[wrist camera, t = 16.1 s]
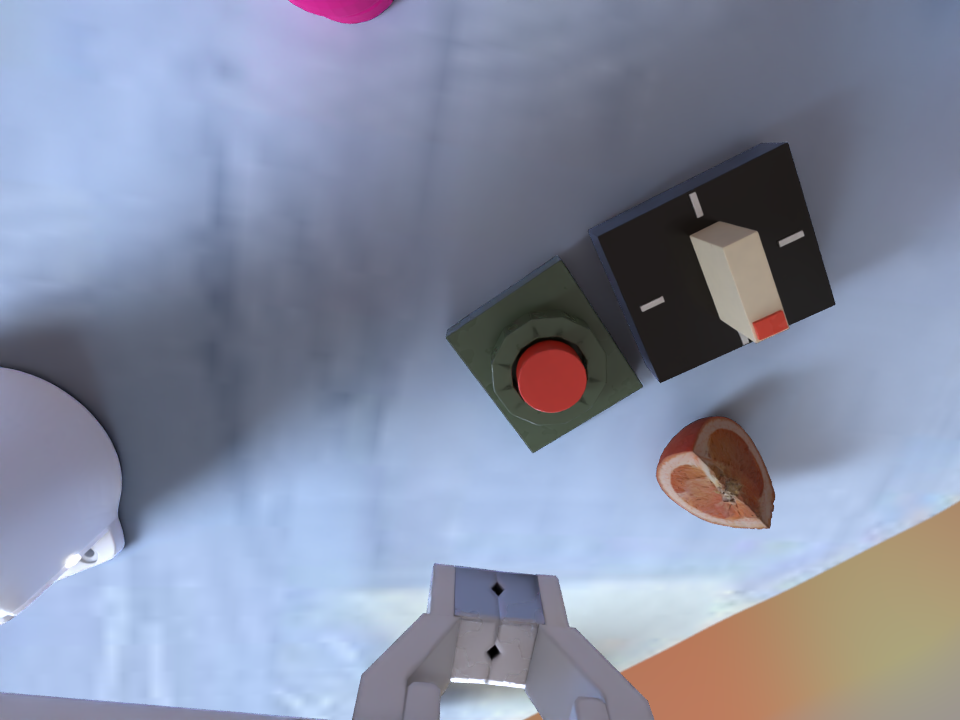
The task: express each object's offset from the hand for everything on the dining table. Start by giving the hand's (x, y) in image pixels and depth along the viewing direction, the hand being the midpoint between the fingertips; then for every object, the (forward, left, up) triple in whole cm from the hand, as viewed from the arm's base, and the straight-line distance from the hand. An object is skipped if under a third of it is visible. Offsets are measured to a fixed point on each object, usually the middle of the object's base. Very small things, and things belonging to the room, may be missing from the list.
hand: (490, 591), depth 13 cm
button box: (+2, -4, -24) cm, 25 cm away
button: (+2, -4, -21) cm, 21 cm away
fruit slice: (+7, -17, -24) cm, 30 cm away
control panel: (+13, -5, -24) cm, 28 cm away
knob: (+13, -5, -21) cm, 25 cm away
